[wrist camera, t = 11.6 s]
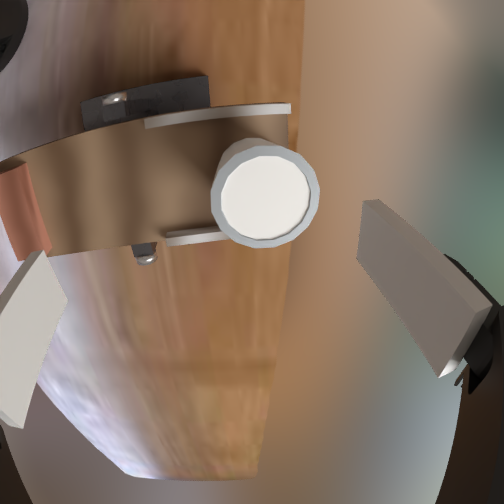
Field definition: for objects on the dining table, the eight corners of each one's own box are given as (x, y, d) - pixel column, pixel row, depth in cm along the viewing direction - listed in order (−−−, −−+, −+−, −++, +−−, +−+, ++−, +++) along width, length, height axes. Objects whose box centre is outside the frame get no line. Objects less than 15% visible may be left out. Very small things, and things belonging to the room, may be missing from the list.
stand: (110, 226, 38) (79, 280, 27) (84, 101, 29) (31, 111, 18) (221, 210, 40) (227, 263, 28) (207, 76, 30) (207, 66, 19)
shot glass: (261, 222, 26) (277, 265, 20) (194, 183, 24) (188, 218, 18) (308, 160, 24) (341, 186, 18) (241, 113, 21) (253, 122, 15)
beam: (36, 247, 27) (18, 269, 23) (8, 157, 21) (-16, 170, 17) (282, 213, 29) (294, 235, 25) (279, 101, 23) (292, 104, 19)
